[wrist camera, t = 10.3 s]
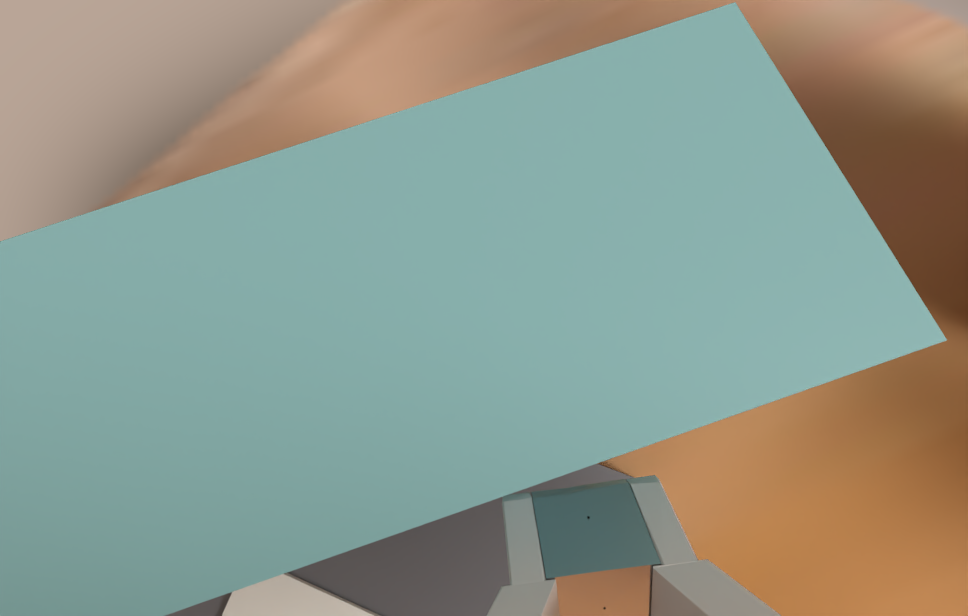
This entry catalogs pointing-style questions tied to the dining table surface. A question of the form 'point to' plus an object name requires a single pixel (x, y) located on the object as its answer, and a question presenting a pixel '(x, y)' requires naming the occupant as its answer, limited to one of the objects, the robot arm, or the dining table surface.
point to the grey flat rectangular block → (400, 569)
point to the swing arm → (424, 319)
